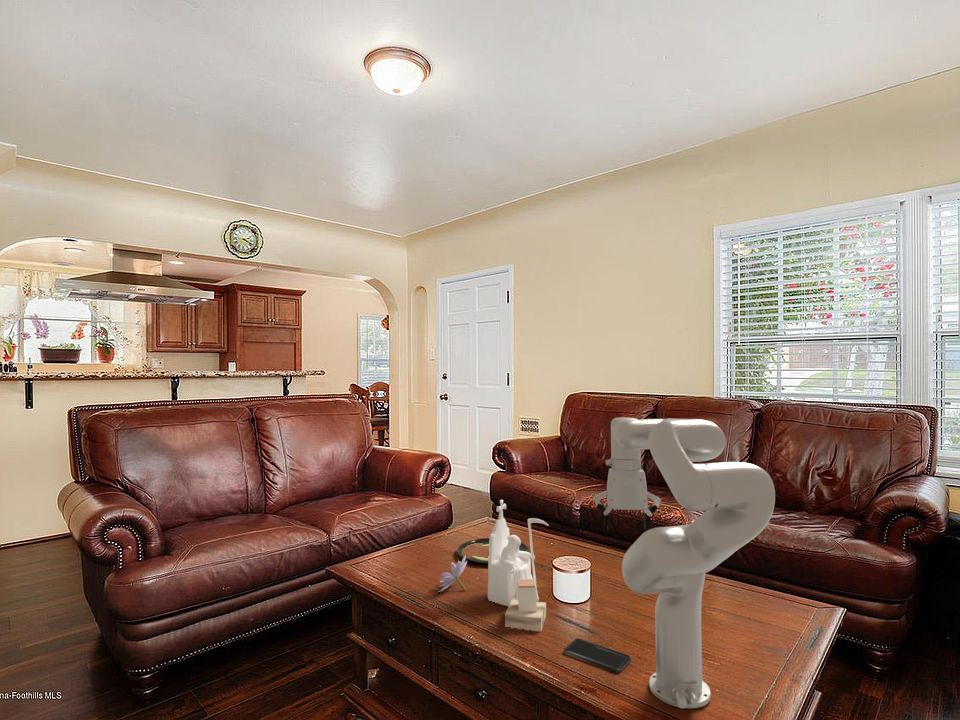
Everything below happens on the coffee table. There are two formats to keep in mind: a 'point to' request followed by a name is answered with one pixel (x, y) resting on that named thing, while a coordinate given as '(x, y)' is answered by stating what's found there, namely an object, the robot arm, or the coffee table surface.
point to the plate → (485, 543)
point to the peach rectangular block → (526, 595)
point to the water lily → (453, 574)
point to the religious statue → (508, 561)
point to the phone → (597, 655)
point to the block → (525, 617)
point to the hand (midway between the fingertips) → (627, 529)
